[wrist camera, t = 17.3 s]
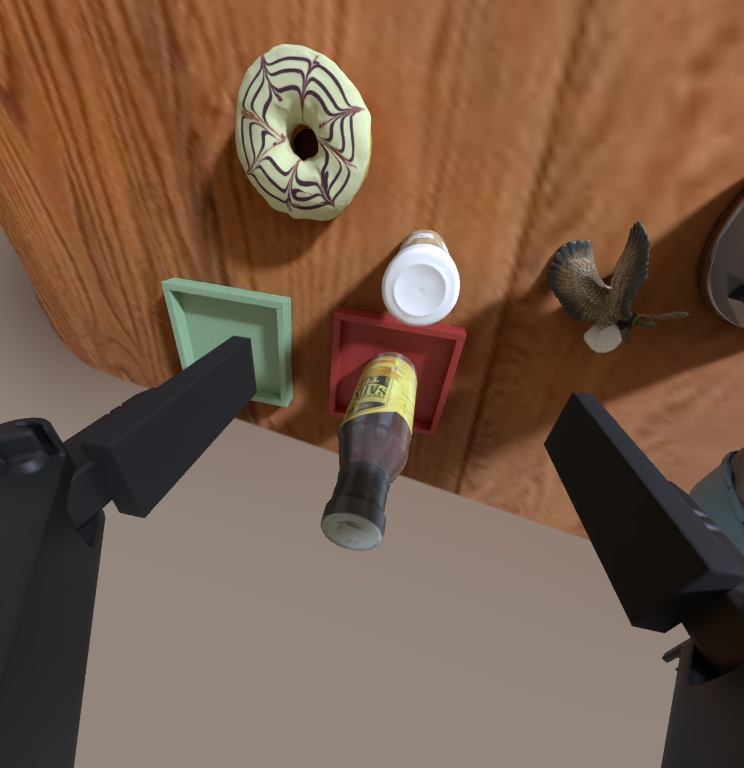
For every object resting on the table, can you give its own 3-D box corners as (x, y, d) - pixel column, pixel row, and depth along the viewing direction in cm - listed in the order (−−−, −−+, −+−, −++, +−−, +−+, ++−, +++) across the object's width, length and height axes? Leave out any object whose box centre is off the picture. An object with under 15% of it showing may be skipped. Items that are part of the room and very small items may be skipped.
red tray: (338, 305, 32) (333, 311, 31) (464, 327, 31) (466, 335, 30) (332, 406, 40) (327, 415, 38) (434, 426, 39) (434, 437, 37)
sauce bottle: (392, 337, 33) (355, 480, 16) (428, 376, 34) (430, 541, 18) (351, 371, 36) (285, 521, 19) (387, 405, 37) (355, 570, 21)
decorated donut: (351, 237, 29) (341, 241, 26) (245, 190, 28) (221, 188, 25) (393, 98, 23) (388, 82, 20) (262, 35, 22) (235, 7, 19)
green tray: (174, 277, 34) (160, 281, 32) (290, 297, 33) (283, 302, 31) (197, 379, 41) (186, 387, 39) (292, 398, 40) (286, 407, 38)
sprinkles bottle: (409, 221, 27) (397, 234, 16) (455, 240, 27) (476, 265, 16) (391, 271, 30) (370, 312, 18) (434, 287, 30) (439, 339, 18)
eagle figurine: (688, 280, 25) (650, 195, 22) (692, 346, 22) (649, 261, 19) (585, 311, 32) (542, 249, 28) (578, 365, 29) (529, 305, 25)
